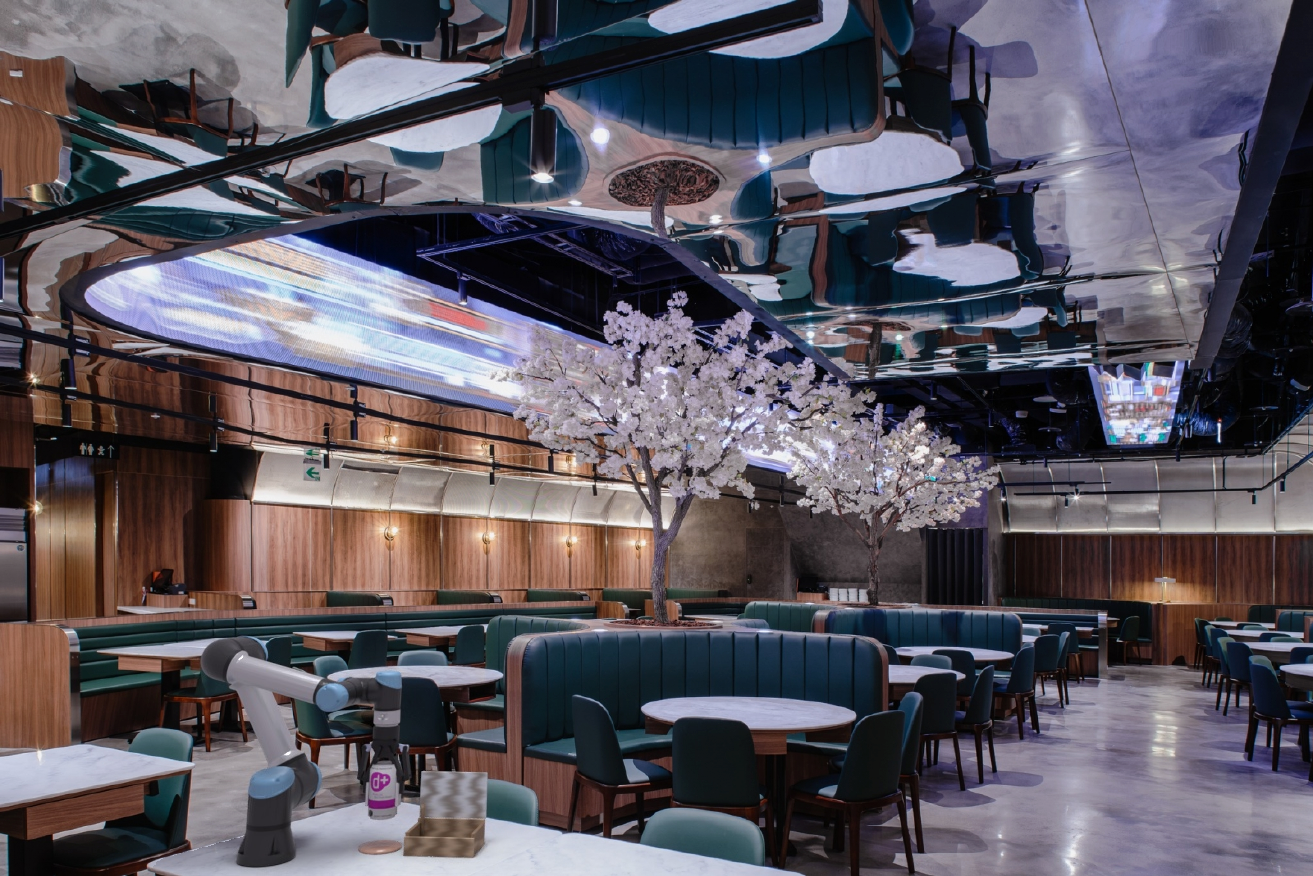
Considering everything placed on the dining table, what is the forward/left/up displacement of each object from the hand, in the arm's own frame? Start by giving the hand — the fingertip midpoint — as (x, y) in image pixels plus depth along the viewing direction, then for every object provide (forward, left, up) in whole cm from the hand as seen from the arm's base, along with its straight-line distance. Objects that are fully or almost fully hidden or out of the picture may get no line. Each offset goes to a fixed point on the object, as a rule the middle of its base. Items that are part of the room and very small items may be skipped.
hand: (382, 805), depth 261 cm
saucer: (0, 0, -12) cm, 12 cm away
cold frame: (+19, 0, -12) cm, 22 cm away
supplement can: (0, 0, -3) cm, 3 cm away
